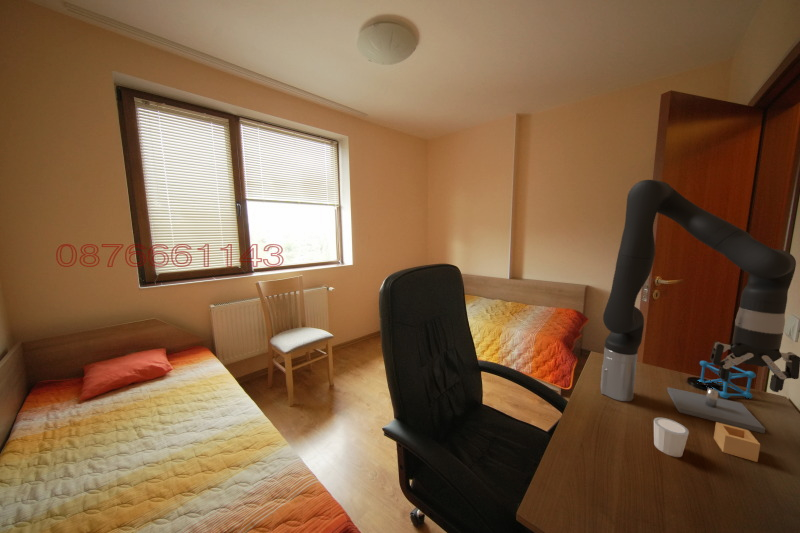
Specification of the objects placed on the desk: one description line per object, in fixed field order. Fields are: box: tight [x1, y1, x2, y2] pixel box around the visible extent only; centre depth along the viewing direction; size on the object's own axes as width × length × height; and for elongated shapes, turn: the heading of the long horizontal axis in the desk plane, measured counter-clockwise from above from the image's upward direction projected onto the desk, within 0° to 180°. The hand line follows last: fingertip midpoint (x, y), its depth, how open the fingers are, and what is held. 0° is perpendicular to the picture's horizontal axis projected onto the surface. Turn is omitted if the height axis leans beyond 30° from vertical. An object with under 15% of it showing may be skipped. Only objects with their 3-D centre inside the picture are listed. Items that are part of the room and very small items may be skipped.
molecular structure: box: [697, 360, 757, 399], centre depth 99 cm, size 10×10×10 cm
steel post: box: [705, 387, 720, 408], centre depth 90 cm, size 2×2×6 cm
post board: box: [666, 386, 766, 434], centre depth 90 cm, size 18×14×2 cm
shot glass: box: [653, 417, 690, 458], centre depth 74 cm, size 7×7×7 cm
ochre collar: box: [713, 421, 761, 463], centre depth 74 cm, size 6×6×5 cm
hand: (748, 385), depth 72 cm, fingers open, 8 cm apart
